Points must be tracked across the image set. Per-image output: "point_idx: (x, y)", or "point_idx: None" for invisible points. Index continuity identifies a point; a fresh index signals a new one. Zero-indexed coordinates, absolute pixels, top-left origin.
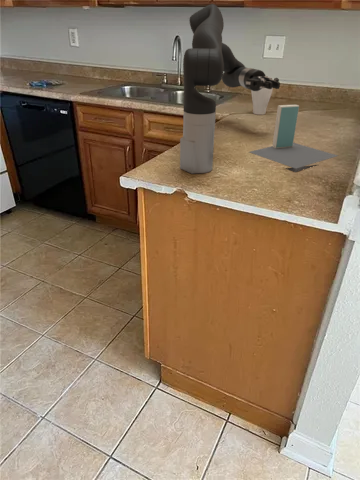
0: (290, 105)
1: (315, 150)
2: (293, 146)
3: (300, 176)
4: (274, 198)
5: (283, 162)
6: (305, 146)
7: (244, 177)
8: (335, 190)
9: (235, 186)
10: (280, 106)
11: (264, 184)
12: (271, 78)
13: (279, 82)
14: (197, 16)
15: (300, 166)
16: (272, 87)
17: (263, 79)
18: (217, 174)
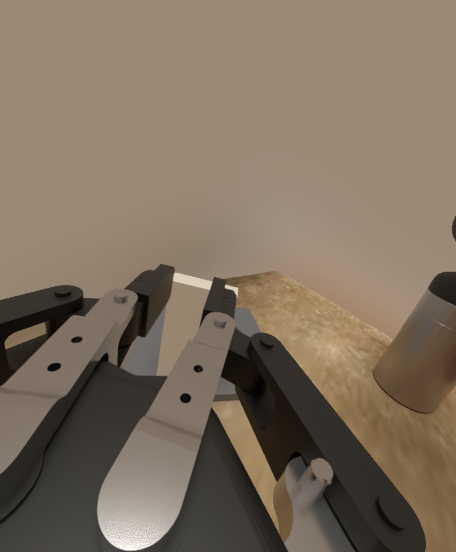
0: (199, 282)
1: None
2: (157, 366)
3: (248, 305)
4: (304, 297)
5: (251, 325)
6: (131, 352)
7: (323, 333)
8: (237, 280)
9: (339, 324)
10: (237, 289)
11: (303, 313)
12: (88, 316)
13: (161, 264)
14: None
15: (236, 308)
16: (147, 332)
17: (197, 343)
18: (362, 356)
